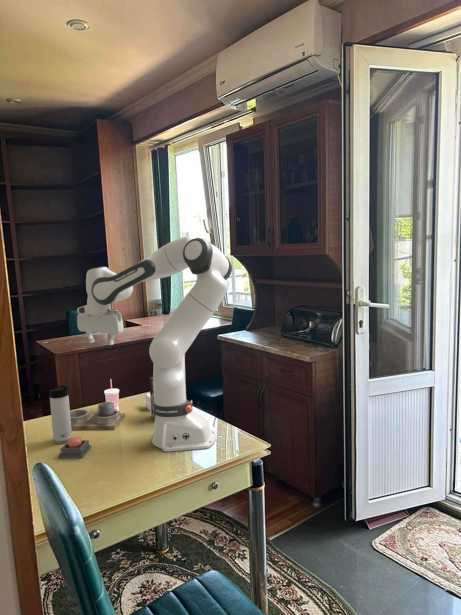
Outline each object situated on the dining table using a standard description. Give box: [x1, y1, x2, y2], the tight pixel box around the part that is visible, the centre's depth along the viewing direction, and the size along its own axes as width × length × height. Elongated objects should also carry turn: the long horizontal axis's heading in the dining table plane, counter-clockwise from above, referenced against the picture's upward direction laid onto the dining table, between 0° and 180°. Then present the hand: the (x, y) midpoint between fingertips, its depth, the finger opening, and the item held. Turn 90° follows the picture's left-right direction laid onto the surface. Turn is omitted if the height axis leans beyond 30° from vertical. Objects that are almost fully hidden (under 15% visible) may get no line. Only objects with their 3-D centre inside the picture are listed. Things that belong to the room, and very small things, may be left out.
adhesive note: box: [145, 392, 151, 412], centre depth 198 cm, size 6×6×6 cm
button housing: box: [58, 439, 92, 459], centre depth 157 cm, size 8×8×3 cm
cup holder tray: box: [70, 401, 126, 431], centre depth 182 cm, size 22×13×8 cm, turn 86°
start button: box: [68, 436, 83, 448], centre depth 156 cm, size 4×4×2 cm
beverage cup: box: [103, 378, 120, 411], centre depth 195 cm, size 6×6×14 cm
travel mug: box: [49, 385, 73, 445], centre depth 166 cm, size 6×7×20 cm
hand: (101, 343), depth 183 cm, fingers open, 8 cm apart
